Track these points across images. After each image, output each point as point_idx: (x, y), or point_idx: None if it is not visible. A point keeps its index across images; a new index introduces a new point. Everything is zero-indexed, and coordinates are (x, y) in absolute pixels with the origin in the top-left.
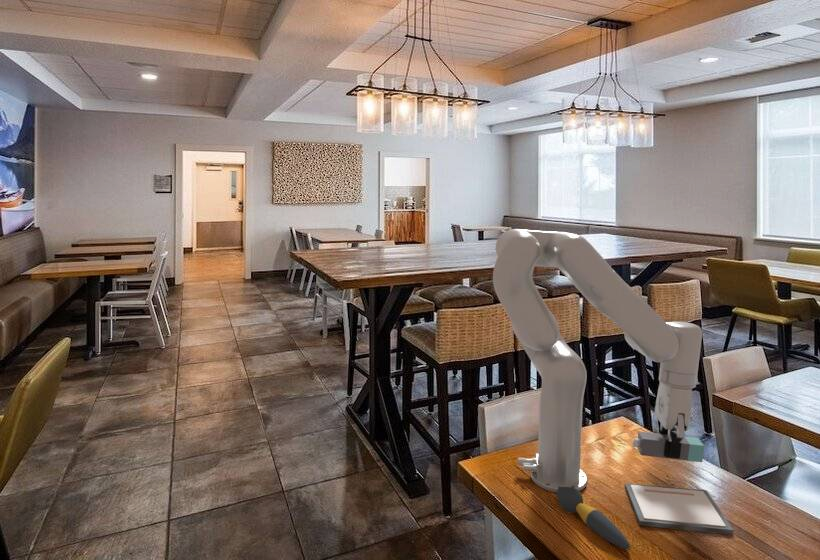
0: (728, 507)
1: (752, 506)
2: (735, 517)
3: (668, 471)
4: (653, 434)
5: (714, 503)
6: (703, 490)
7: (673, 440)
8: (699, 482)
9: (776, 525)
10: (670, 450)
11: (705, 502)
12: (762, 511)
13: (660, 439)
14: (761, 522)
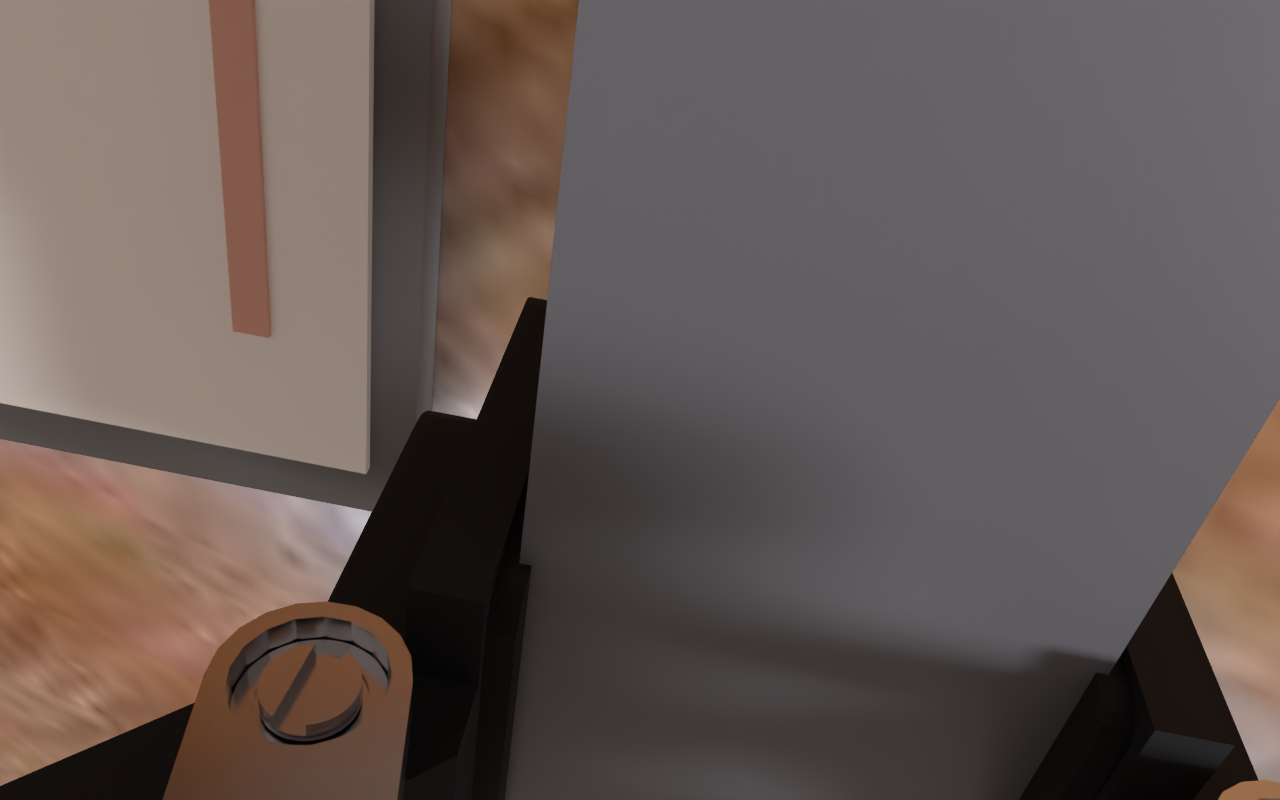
0: (217, 551)
1: None
2: (52, 519)
3: None
4: (1096, 431)
5: (138, 456)
6: None
7: (115, 750)
8: None
9: (38, 723)
10: (396, 475)
11: (108, 375)
12: None
13: (655, 474)
14: (44, 658)
